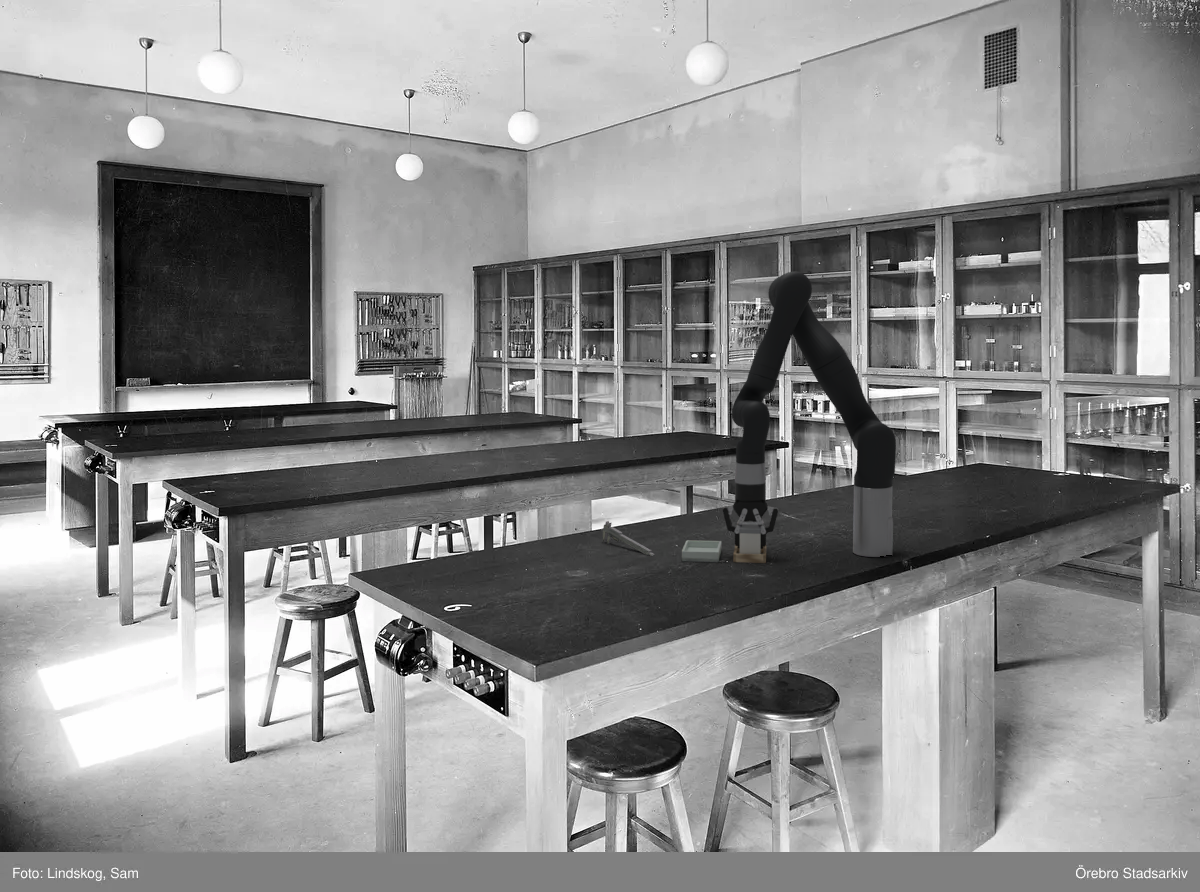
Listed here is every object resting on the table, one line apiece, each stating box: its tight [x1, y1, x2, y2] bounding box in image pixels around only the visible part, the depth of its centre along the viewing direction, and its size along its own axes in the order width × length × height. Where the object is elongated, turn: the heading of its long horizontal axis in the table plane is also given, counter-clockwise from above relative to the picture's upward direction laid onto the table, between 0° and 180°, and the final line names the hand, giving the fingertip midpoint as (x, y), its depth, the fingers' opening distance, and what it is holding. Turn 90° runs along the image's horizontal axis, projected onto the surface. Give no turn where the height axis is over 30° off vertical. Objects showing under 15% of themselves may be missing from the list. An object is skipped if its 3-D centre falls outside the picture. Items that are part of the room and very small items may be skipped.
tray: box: [681, 539, 722, 563], centre depth 231 cm, size 9×12×2 cm
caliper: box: [602, 520, 655, 557], centre depth 240 cm, size 20×1×6 cm, turn 37°
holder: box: [732, 544, 767, 564], centre depth 229 cm, size 8×11×2 cm
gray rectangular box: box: [739, 521, 762, 554], centre depth 228 cm, size 5×8×8 cm, turn 169°
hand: (750, 547), depth 228 cm, fingers closed on gray rectangular box, 5 cm apart
